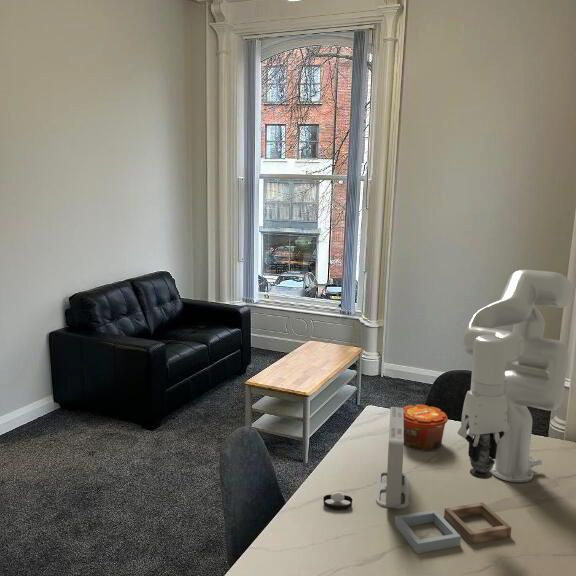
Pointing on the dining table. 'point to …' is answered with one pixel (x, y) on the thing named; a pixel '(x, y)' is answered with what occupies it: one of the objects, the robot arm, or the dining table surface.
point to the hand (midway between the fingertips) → (482, 457)
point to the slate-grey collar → (431, 543)
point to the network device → (394, 465)
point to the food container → (423, 427)
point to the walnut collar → (476, 536)
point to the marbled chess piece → (483, 459)
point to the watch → (337, 498)
